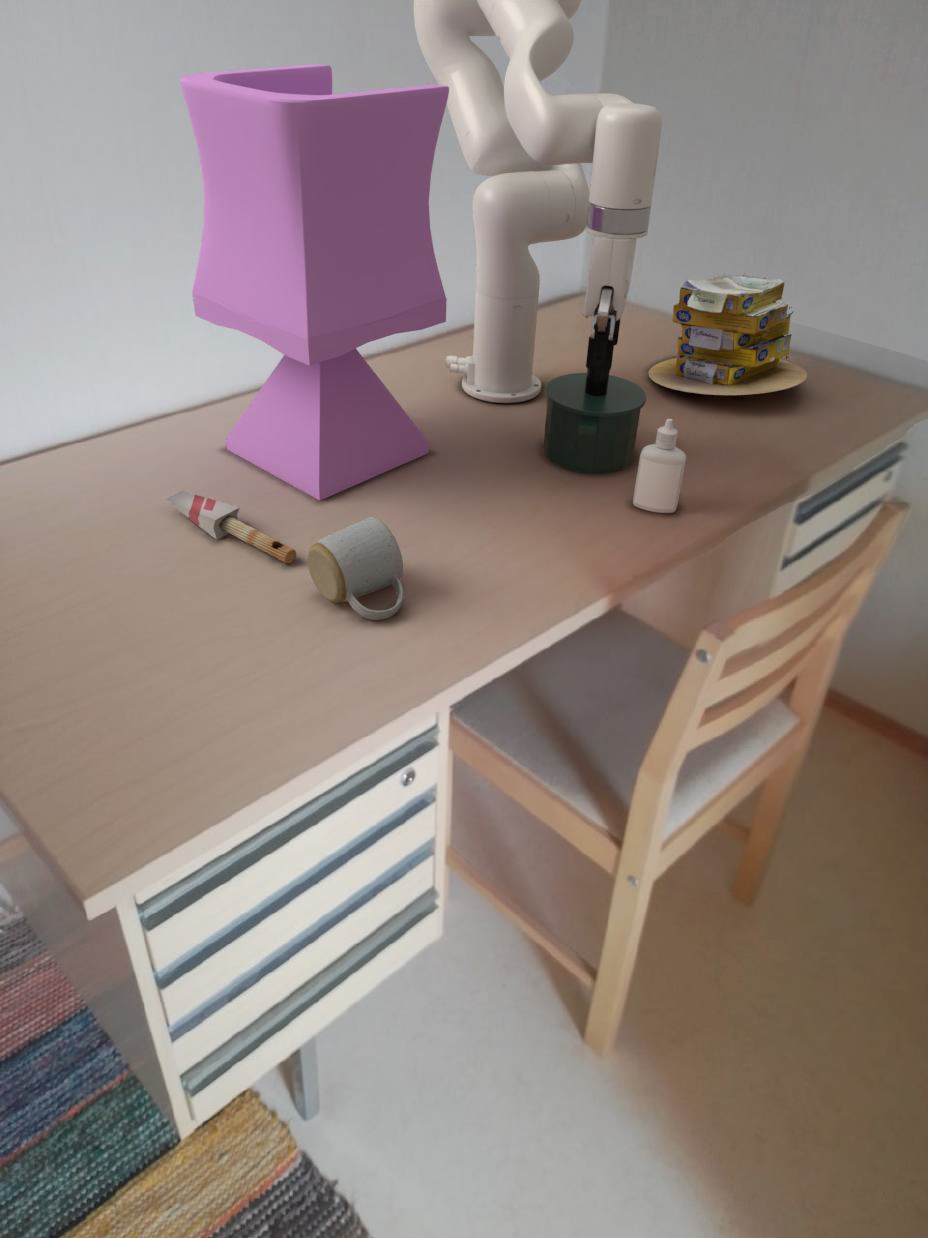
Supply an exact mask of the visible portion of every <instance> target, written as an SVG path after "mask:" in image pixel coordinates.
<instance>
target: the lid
mask: <svg viewBox="0 0 928 1238" xmlns="http://www.w3.org/2000/svg"><path fill="white" fill-rule="evenodd" d="M586 369H587V370H586V372H575V373H568V374H563V375H560V376H557V377H555V378H553V379H551V380H550V381H548V383H547V384H546V386H545V392H544V393H545V397H546V398H547V401H548V400H549V401H550V402H551V403H553V404H554V405H556V406H557V407H559V408H562V409H564V410H567V411H569V412H573V413H576V414H581V415H587V416H596V417H614V416H623V415H627V414H631V413H634V412H636V411H638V410H640V409H641V410H642V409H643V407H644V406H645V405H646V401H647V393H646V392H645V390H644V389H643V388H642V387H641V386H639V385H638V384H636V383H634V382H632V381H630V380H628V379H625V378H623V377H620V376H616V375H611V374H610V372H611V369H610V370H609V371H604V370H594V369H588V368H586ZM641 410H640V411H641Z"/></svg>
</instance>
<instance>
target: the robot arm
mask: <svg viewBox="0 0 928 1238" xmlns="http://www.w3.org/2000/svg"><path fill="white" fill-rule="evenodd" d="M581 2H582V0H413V22H414V30H415V33H416V38H417V43H418V45H419V48H420V51H421V54H422V56H423V58H424V60H425V62H426V64H427V66H428V68H429V70H430V72H431V73H432V75H433V78H434V79H435V81H436V82H437V84H438V85H443V86H448V87H449V95H448V100H447V104H446V107H447V109H448V113H449V116H450V119H451V122H452V126H453V128H454V132H455V135H456V137H457V140H458V144H459V147H460V150H461V153H462V155H463V158H464V160H465V162H466V164H467V166H468V169H470V171H472V172H473V173H475V174H476V175H478V176H479V175H480V176H485V177H487V178H486V179H485V180H484V181H482V182H481V183H480V184H479V185H478V186H477V188H476V190H475V191H474V194H473V196H472V206H471V207H472V209H471V210H472V211H471V212H472V221H473V227H474V229H473V230H474V237H475V251H476V254H475V255H476V270H475V271H476V273H475V274H476V275H475V276H476V277H475V297H474V299H475V301H474V305H475V306H474V322H473V323H474V324H473V344H472V345H473V346H472V355H466V357H461V356H459V355H450V354H447V356H446V359H445V368H448V369H449V373H451V374H452V373H453V374H463V376H462V379H461V389H462V390H463V391H464V392H465V393H466V394H467V395H469V396H470V397H473V398H475V399H478V400H480V401H485V402H489V403H496V404H515V403H516V404H517V403H522V402H526V401H529V400H532V399H534V398H536V397H537V396H538V395H539V394H540V393H541V391H542V381H541V380H540V379H539V377H538V376H536V374H534V373H533V369H534V358H535V357H534V356H535V345H536V344H535V343H536V332H537V322H538V320H537V319H538V309H539V297H540V286H541V283H540V282H541V278H540V277H541V276H540V270H539V268H538V266H537V263H536V262H535V260H534V258H533V256H532V255H531V252H530V250H529V246H531V245H534V244H538V243H549V242H559V241H564V240H565V241H566V240H570V239H574V238H576V237H578V236H580V235H581V234H582V233H584V231H586V232H587V233H588V234H590V235H592V237H593V238H592V242H591V247H590V249H591V250H590V255H589V262H588V269H587V270H588V271H587V279H586V287H585V295H584V296H585V298H584V302H583V312H582V316H583V317H584V318H585V319H588V318H589V317H593V318H592V324H591V329H590V336H588V342H587V343H588V344H587V353H586V361H585V367H586V369H587V368H588V369H594V370H604V371H609V370H610V371H611V369H612V364H613V357H614V349H615V346H617V345H618V342H619V334H620V325H621V319H622V317H623V314H624V313H623V312H624V309H625V306H626V302H627V299H628V294H629V291H630V285H631V280H632V273H633V270H634V269H633V268H634V262H635V255H636V248H637V240H638V239H641V238H644V237H646V236H647V235H648V232H649V225H650V219H651V218H650V217H651V210H652V202H653V197H654V196H653V195H654V190H655V189H654V188H655V182H656V175H657V174H656V173H657V168H658V167H657V166H658V159H659V151H660V145H661V144H660V143H661V135H662V129H663V117H662V113H661V111H660V110H659V109H658V108H657V107H655V106H652V105H648V104H644V103H643V104H642V103H636V102H633V101H632V100H630V99H628V98H627V97H626V96H623V95H621V94H617V93H609V92H607V93H605V92H604V93H571V94H570V93H569V94H568V93H567V94H566V93H565V94H564V93H563V94H550V93H549V92H548V91H547V90H546V89H545V87H544V86H543V84H542V81H543V80H545V79H547V78H549V77H550V76H551V75H553V74H554V73H555V72H556V71H558V69H560V68H561V67H562V66H563V64H564V63H565V62H566V60H567V59H568V57H569V55H570V53H571V51H572V48H573V46H574V45H573V44H574V40H575V39H574V37H575V34H574V28H573V24H572V23H571V19H572V18H573V17H574V16H575V15H576V13H577V12H578V10H579V7H580V5H581ZM470 37H496V38H497V40H498V41H499V43H500V45H501V47H502V48H503V50H504V52H505V54H506V56H507V58H508V59H509V62H508V64H507V67H506V71H505V75H504V82H503V80H502V77H501V75H500V72H499V70H498V68H497V66H496V65H495V63H494V62H493V61H492V60H491V58H490V57H489V56H488V55H487V54H486V52H485V51H483V49H481V48H480V47H479V46H478V45H477V44H476V43H474V42H473V41H472V40H471V38H470ZM582 164H592V166H591V174H590V186H589V183H588V181H587V177H586V175H585V171H584V169H583V166H582Z"/></svg>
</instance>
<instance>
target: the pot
mask: <svg viewBox="0 0 928 1238" xmlns="http://www.w3.org/2000/svg"><path fill="white" fill-rule="evenodd" d="M641 410H642V408H641V409H640V410H638V411H636V412H634V413H631V414H627V415H623V416H614V417H596V416H587V415H581V414H576V413H573V412H569V411H567V410H564V409H562V408H559V407H557V406H556V405H554V404H553V403H551V402H550V401H549V400H548V399H547V402H546V413H545V414H546V415H545V423H544V435H543V443H542V444H543V446H542V448H543V454H544V456H545V457H546V458H547V459H548V460H549V461H550V462H551V463H552V464H554V465H556V466H558V467H560V468H562V469H565V470H569V471H572V472H577V473H581V474H595V475H596V474H597V475H598V474H600V475H601V474H608V473H609V474H610V473H615V472H618V471H621V470H624V469H625V468H627V467H628V466H630V465H631V463H632V462H633V459H634V455H635V454H634V453H635V448H636V441H637V435H638V428H639V422H640V416H641Z"/></svg>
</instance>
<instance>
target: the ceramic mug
mask: <svg viewBox="0 0 928 1238" xmlns="http://www.w3.org/2000/svg"><path fill="white" fill-rule="evenodd" d="M307 566H308V567H307V568H308V571H309V575H310V577H311V579H312V581H313V583H314V586H315V587H316V589H317V590H318V592H319V593H320V594H321V595H322V597H324V598H325V600H328V601H329V602H331V603H333V604H342V603H347V602H348V604H349V605H350V607H351V608H352V610H353V611H355V612H356V613H357V614H359V615H360V616H361V617H363V618H365V619H368V620H374V621H381V620H385V619H388V618H390V617H393V616H394V615H395V614H396V613H397V612H398V611H399V610H400V608H401V606H402V603H403V600H404V590H403V586H402V585H403V584H402V582H401V579H402V577H403V573H404V561H403V555H402V552H401V548H400V546H399V544H398V541H397V539H396V537H395V535H394V534H393V533H392V531H391V529H390V528H389V527H388V525H386V524H385V522H384V521H382V520H381V519H380V518H378V517H374V516H369V517H366V518H363V519H362V520H359V521H358V522H355V523H353V524H351V525H348V526H345V527H344V528H341V529H339V530H337V531H335V532H333V533H331V534H329V535H326V536H323V537H322V538H320V539H319V540H318V541H316V542H314V543H313V544H312V545H311V546H310V548H309V549H308V553H307ZM390 586H393V588H394V589H395V592H396V597H397V600H396V603H395V605H394V606H392V607H390V608H387V609H383V610H376V609H370V608H368V607H366V606H364V605H362V603H361V602H360V601H359V600H358V598H360V597H363V596H366V595H368V594H372V593H374V592H377V591H379V590H382V589H384V588H388V587H390Z"/></svg>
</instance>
